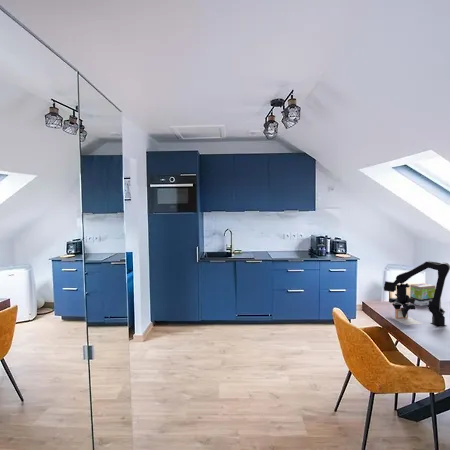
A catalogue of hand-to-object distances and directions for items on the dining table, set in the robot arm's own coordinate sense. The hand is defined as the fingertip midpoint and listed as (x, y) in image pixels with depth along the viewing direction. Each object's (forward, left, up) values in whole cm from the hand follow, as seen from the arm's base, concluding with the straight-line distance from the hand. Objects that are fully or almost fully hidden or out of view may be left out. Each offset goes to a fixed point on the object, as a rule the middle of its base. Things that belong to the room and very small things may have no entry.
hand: (401, 316), depth 210 cm
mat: (-5, 0, -2) cm, 5 cm away
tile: (0, 0, -1) cm, 1 cm away
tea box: (+30, -39, -2) cm, 49 cm away
